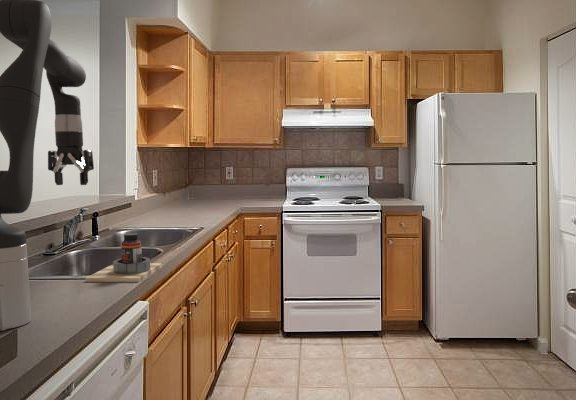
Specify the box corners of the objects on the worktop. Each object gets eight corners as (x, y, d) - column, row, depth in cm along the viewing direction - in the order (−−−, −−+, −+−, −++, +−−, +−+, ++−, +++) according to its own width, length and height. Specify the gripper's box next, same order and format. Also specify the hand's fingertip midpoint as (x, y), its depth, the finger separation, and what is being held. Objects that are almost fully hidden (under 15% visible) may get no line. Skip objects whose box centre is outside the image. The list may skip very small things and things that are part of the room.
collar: (139, 274, 149) (138, 264, 148) (106, 273, 151) (106, 263, 151) (156, 266, 159) (156, 257, 159) (126, 265, 162) (125, 256, 161)
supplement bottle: (118, 271, 154) (116, 234, 153) (132, 267, 159) (130, 232, 158) (132, 273, 151) (130, 235, 150) (146, 269, 156) (144, 233, 155)
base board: (139, 281, 145) (138, 277, 145) (85, 281, 146) (85, 277, 146) (161, 266, 165) (161, 263, 165) (114, 266, 166) (114, 263, 166)
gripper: (39, 130, 148) (42, 185, 149) (81, 129, 144) (83, 185, 146) (57, 132, 155) (60, 184, 156) (97, 130, 151) (99, 184, 153)
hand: (71, 185), depth 151 cm, fingers open, 8 cm apart
